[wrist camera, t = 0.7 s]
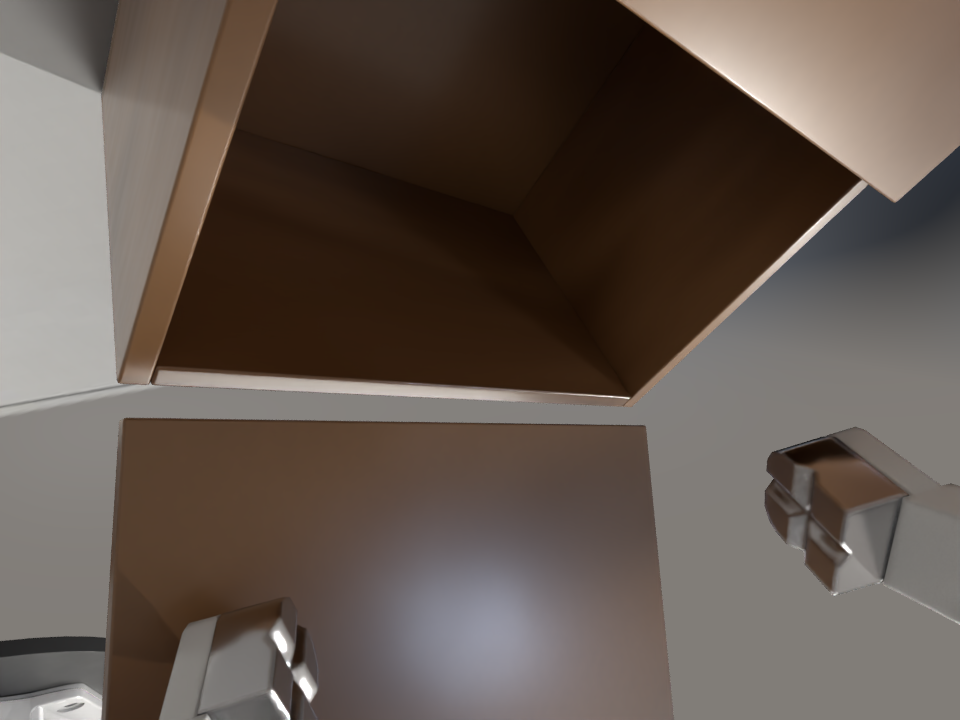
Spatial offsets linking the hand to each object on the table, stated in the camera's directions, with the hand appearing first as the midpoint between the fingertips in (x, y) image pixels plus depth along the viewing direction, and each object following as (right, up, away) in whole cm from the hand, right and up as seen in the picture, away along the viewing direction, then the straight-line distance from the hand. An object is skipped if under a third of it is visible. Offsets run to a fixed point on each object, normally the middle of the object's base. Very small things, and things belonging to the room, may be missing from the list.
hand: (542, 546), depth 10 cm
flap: (-1, -2, +3) cm, 4 cm away
